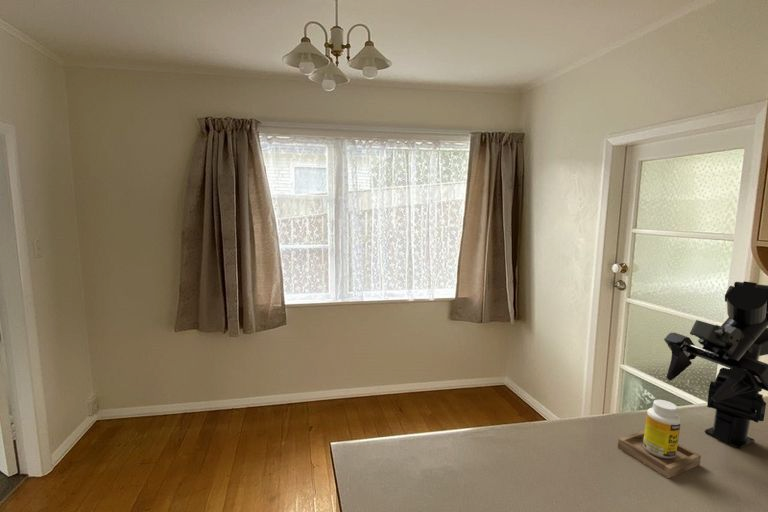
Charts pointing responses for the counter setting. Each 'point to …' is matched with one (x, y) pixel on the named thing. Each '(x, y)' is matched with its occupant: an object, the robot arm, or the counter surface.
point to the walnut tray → (666, 467)
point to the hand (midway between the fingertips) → (689, 389)
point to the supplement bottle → (662, 429)
